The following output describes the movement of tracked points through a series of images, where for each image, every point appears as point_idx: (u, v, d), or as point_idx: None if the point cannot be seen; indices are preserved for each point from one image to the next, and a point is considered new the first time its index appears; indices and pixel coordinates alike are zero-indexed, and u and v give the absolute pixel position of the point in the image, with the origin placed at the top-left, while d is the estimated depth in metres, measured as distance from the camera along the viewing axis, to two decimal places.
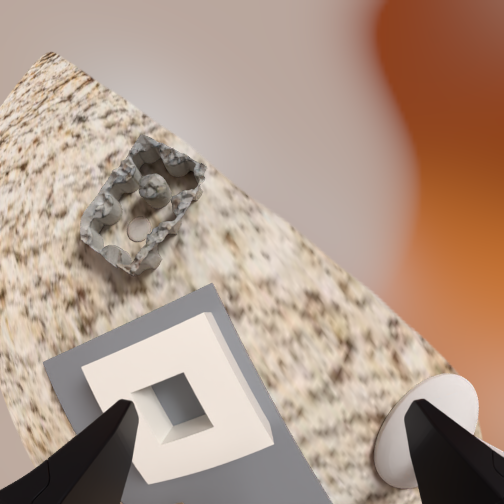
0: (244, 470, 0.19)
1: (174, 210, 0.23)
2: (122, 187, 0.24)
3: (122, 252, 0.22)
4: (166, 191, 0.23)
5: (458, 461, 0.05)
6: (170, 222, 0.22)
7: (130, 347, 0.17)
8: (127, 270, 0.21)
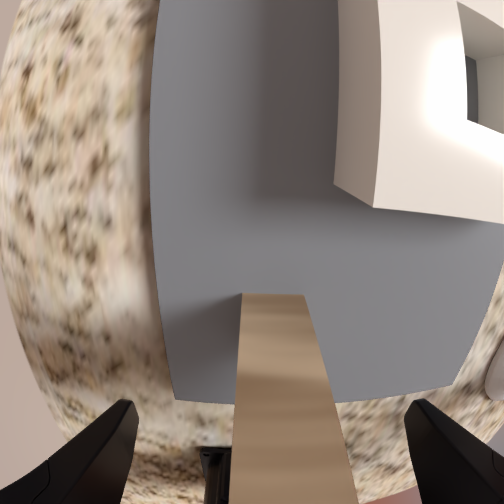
0: (443, 266, 0.12)
1: None
2: None
3: None
4: None
5: (458, 461, 0.05)
6: None
7: None
8: None
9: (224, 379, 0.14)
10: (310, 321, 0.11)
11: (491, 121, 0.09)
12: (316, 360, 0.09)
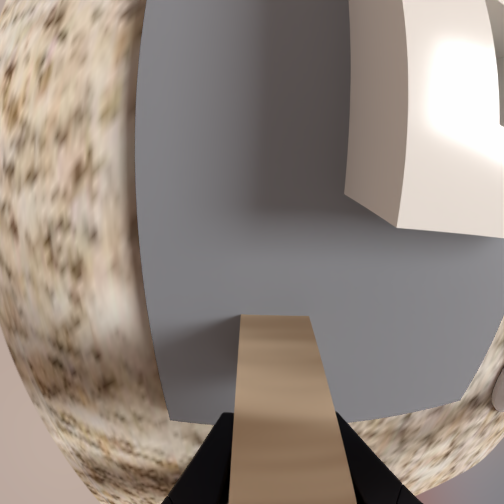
0: (458, 282, 0.11)
1: None
2: None
3: None
4: None
5: (354, 491, 0.05)
6: None
7: None
8: None
9: (221, 402, 0.13)
10: (316, 349, 0.09)
11: None
12: (324, 397, 0.07)
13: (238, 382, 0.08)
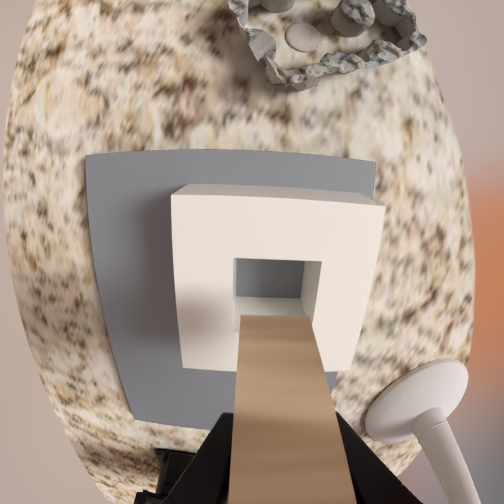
0: None
1: (369, 52, 0.13)
2: None
3: (276, 48, 0.13)
4: (369, 26, 0.13)
5: (354, 491, 0.05)
6: (362, 61, 0.13)
7: (270, 199, 0.13)
8: (278, 74, 0.13)
9: (157, 411, 0.23)
10: (316, 349, 0.09)
11: (304, 291, 0.18)
12: (324, 398, 0.07)
13: (238, 383, 0.08)
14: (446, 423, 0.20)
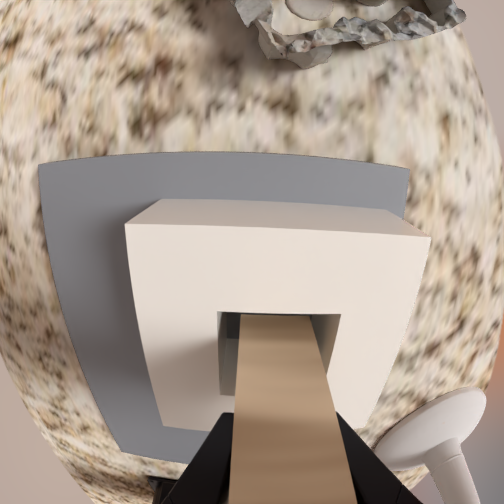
0: None
1: (397, 22, 0.08)
2: None
3: (272, 11, 0.09)
4: None
5: None
6: (390, 32, 0.08)
7: (269, 231, 0.09)
8: (274, 41, 0.08)
9: (145, 447, 0.19)
10: (317, 349, 0.09)
11: None
12: (324, 397, 0.07)
13: (238, 382, 0.08)
14: (461, 456, 0.16)
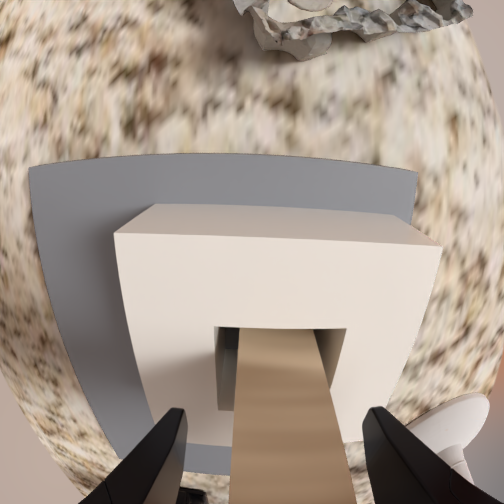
0: None
1: (401, 14, 0.08)
2: None
3: None
4: None
5: (410, 478, 0.05)
6: (394, 23, 0.07)
7: (270, 241, 0.08)
8: (268, 28, 0.08)
9: None
10: None
11: None
12: (313, 352, 0.09)
13: (240, 338, 0.10)
14: (464, 462, 0.15)
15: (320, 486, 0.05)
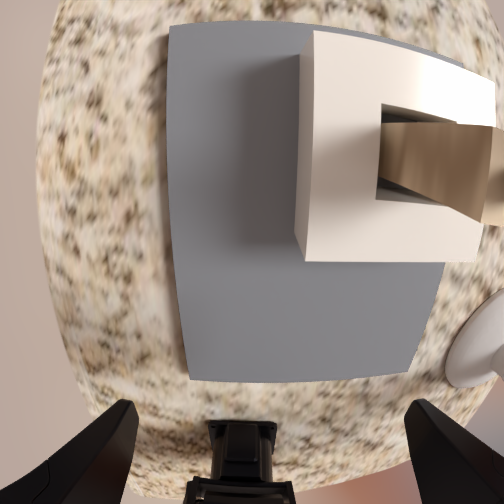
0: (383, 283, 0.18)
1: None
2: None
3: None
4: None
5: (458, 461, 0.05)
6: None
7: (410, 52, 0.09)
8: None
9: (225, 363, 0.20)
10: None
11: None
12: None
13: (393, 123, 0.11)
14: None
15: None
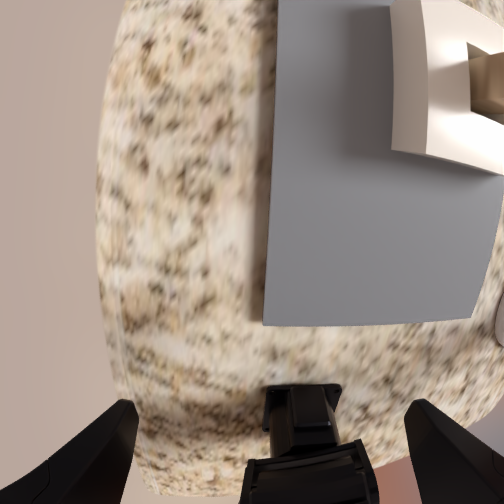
0: (458, 212, 0.17)
1: None
2: None
3: None
4: None
5: (458, 461, 0.05)
6: None
7: (478, 13, 0.08)
8: None
9: (308, 300, 0.19)
10: None
11: (485, 114, 0.13)
12: None
13: (473, 59, 0.10)
14: None
15: None
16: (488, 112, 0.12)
